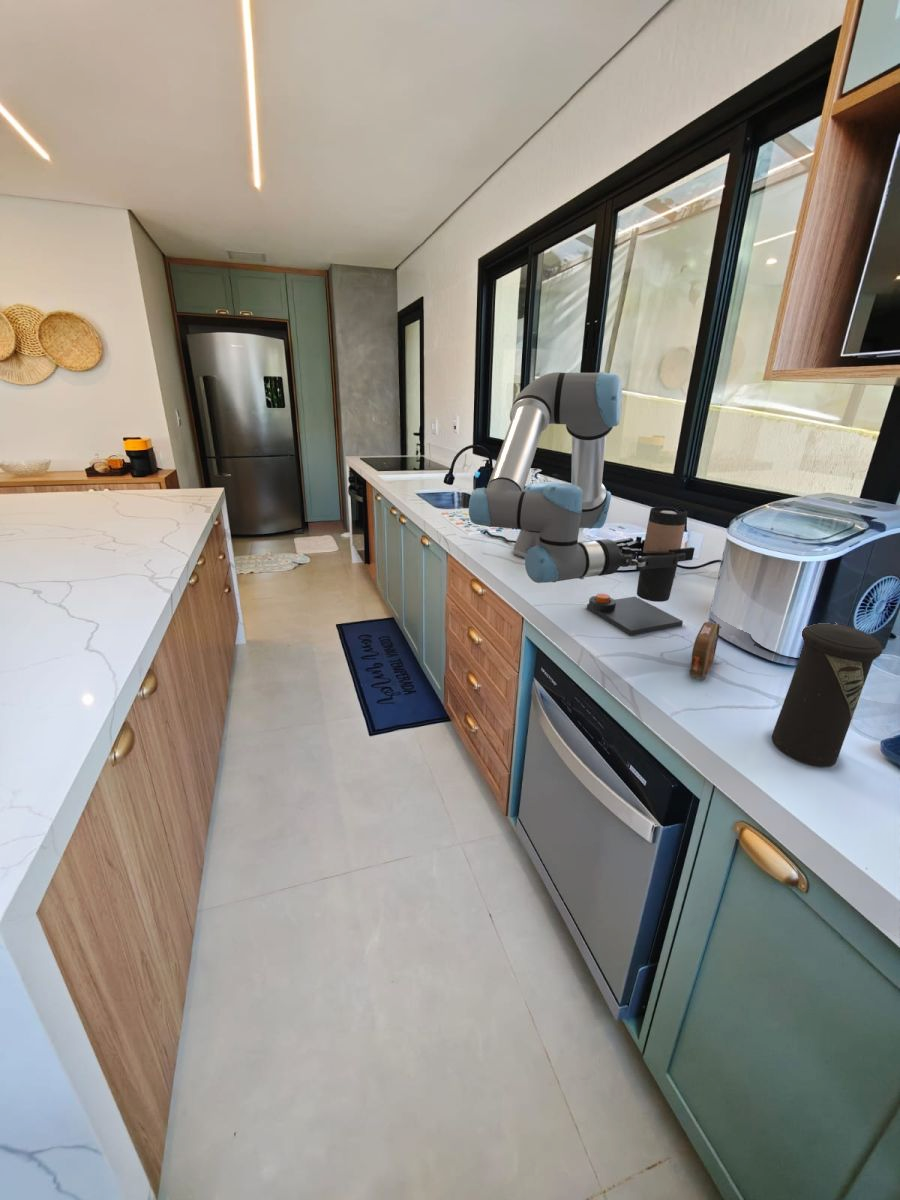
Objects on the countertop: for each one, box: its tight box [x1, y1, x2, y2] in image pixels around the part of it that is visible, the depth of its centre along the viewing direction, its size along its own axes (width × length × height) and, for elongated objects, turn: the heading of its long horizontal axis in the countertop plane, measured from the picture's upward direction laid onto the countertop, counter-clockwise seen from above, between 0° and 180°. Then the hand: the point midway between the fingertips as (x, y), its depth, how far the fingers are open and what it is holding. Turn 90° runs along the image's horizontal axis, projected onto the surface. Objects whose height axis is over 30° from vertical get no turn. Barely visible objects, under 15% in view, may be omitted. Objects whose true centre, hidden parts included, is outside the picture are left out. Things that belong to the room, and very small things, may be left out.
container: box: [771, 623, 883, 768], centre depth 73 cm, size 9×9×20 cm
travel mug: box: [636, 506, 688, 603], centre depth 113 cm, size 8×8×20 cm
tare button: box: [595, 593, 611, 604], centre depth 122 cm, size 3×3×2 cm
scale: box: [586, 595, 684, 637], centre depth 120 cm, size 16×16×3 cm
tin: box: [688, 621, 720, 681], centre depth 97 cm, size 15×3×8 cm, turn 145°
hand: (677, 548), depth 114 cm, fingers closed on travel mug, 7 cm apart
